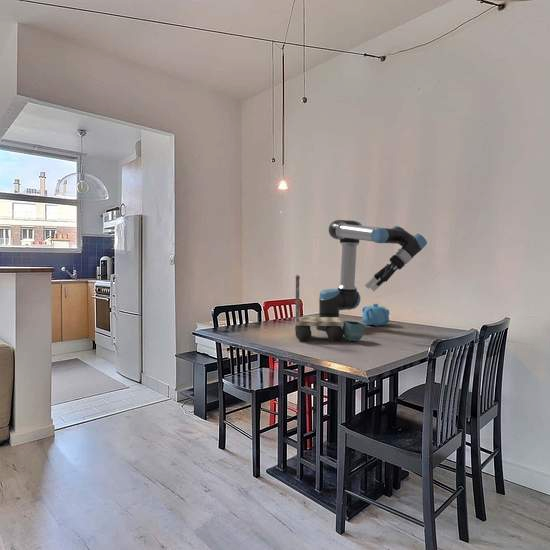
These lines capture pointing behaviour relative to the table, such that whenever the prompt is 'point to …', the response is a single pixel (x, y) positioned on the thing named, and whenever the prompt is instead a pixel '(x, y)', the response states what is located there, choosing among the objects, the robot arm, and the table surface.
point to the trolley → (316, 323)
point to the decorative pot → (375, 315)
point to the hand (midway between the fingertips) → (369, 288)
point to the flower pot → (353, 330)
